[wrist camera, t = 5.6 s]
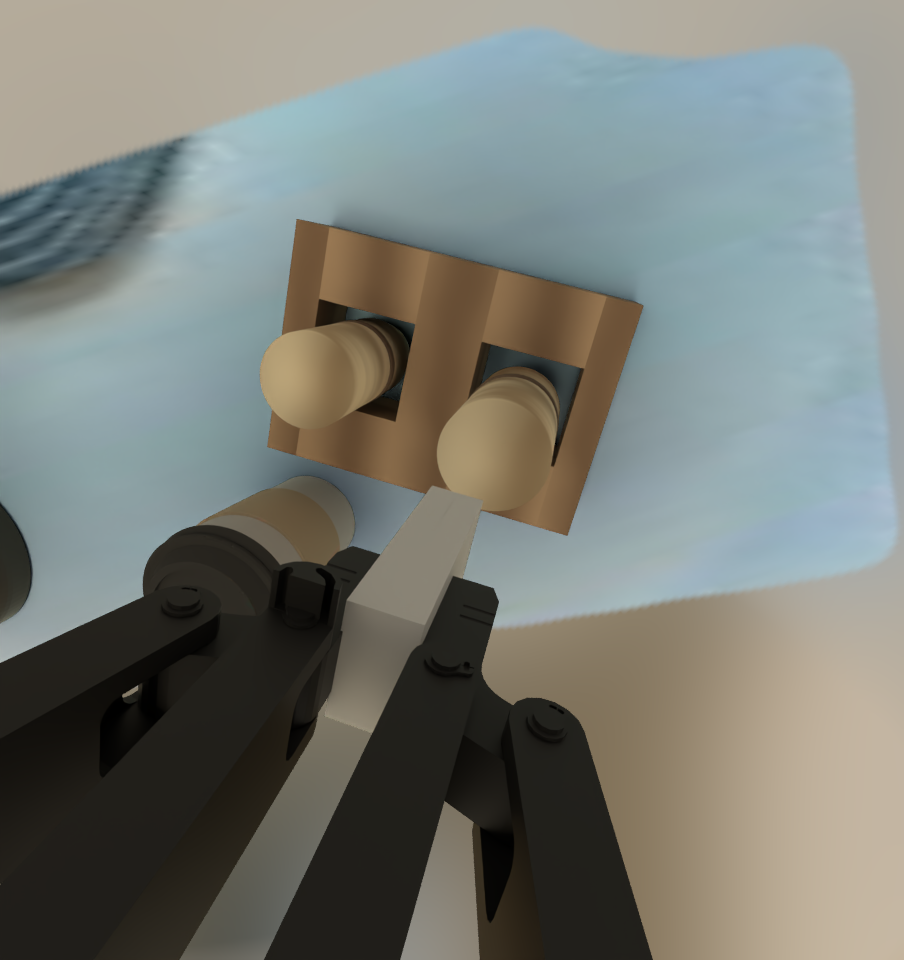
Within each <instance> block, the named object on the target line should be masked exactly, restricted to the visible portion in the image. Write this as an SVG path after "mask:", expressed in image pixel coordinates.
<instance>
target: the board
mask: <svg viewBox="0 0 904 960" xmlns="http://www.w3.org/2000/svg"><path fill="white" fill-rule="evenodd" d="M347 306H348V307H352V308H356V309H360V310H364V311H367V312H371V313H375V314H379V315H382V316H386V317H390V318H394V319H398V320H401V321H405V322H409V323H413V324H415V329H414V334H413V338H412V343H411V348H410V353H409V358H408V363H407V368H406V373H405V378H404V382H403V387H402V392H401V397H400V401H396V400H393V399H389V398H386V397H382V396H380V397H378V398H377V399H375V400H373V401H372V402H370V403H367V404H365V405H363V406H361V407H360V408H358V409H356V410H355V411H353V412H351V413H350V414H348V415H346V416H344V417H343V418H341V419H339V420H338V421H336V422H334V423H332V424H331V425H329V426H326V427H324V428H320V429H303V428H298V427H296V426H293V425H291V424H289V423H287V422H286V421H284V420H283V419H281V418H280V417H279V416H278V415H277V414H276V413H275V412H274V411H273V410H272V415H271V423H270V431H269V438H268V446H267V447H269V448H272V449H276V450H279V451H283V452H286V453H289V454H293V455H296V456H299V457H303V458H306V459H310V460H313V461H316V462H320V463H323V464H327V465H330V466H333V467H337V468H340V469H343V470H347V471H350V472H354V473H357V474H360V475H364V476H367V477H370V478H374V479H377V480H381V481H384V482H387V483H391V484H394V485H397V486H401V487H404V488H408V489H411V490H414V491H418V492H421V493H425V494H426V493H427V492H428V491H429V489H430V488H431V487H432V486H435V487H439V488H442V489H446V490H449V491H451V490H450V489H449V488H448V486H447V485H446V483H445V482H444V480H443V478H442V476H441V473H440V470H439V466H438V462H437V446H438V441H439V438H440V434H441V432H442V430H443V428H444V426H445V425H446V423H447V422H448V421H449V420H450V418H451V417H452V416H453V415H454V414H455V413H456V412H457V411H458V410H459V409H460V408H461V406H462V405H463V404H464V403H465V402H466V401H467V400H468V399H469V398H470V396H471V395H472V393H473V392H474V391H475V390H476V389H477V388H478V387H479V386H480V385H481V382H482V378H483V374H484V370H485V366H486V362H487V358H488V354H489V350H490V346H491V344H492V345H496V346H500V347H504V348H507V349H511V350H515V351H519V352H522V353H526V354H530V355H534V356H538V357H541V358H545V359H549V360H553V361H557V362H560V363H564V364H568V365H572V366H575V367H579V368H581V370H580V373H579V376H578V380H577V383H576V386H575V389H574V393H573V396H572V399H571V402H570V406H569V409H568V412H567V415H566V419H565V422H564V425H563V429H562V432H561V435H560V438H559V442H558V445H554V450H553V456H552V462H551V468H550V472H549V475H548V478H547V480H546V482H545V484H544V486H543V487H542V489H541V490H540V491H539V492H538V493H537V494H536V496H535V497H533V498H532V499H531V500H530V501H528V502H527V503H525V504H523V505H521V506H519V507H517V508H514V509H510V510H505V511H487V510H482V509H481V510H482V511H485V512H489V513H492V514H496V515H499V516H502V517H506V518H509V519H512V520H516V521H519V522H523V523H526V524H529V525H533V526H536V527H539V528H543V529H546V530H550V531H553V532H556V533H560V534H563V535H566V536H567V535H568V532H569V529H570V526H571V523H572V520H573V517H574V514H575V511H576V508H577V505H578V502H579V499H580V496H581V493H582V490H583V487H584V484H585V481H586V478H587V475H588V472H589V469H590V466H591V463H592V460H593V457H594V454H595V451H596V448H597V445H598V442H599V439H600V436H601V433H602V430H603V427H604V424H605V421H606V418H607V415H608V412H609V408H610V405H611V402H612V399H613V396H614V393H615V390H616V387H617V384H618V381H619V378H620V375H621V372H622V369H623V366H624V363H625V360H626V357H627V354H628V351H629V348H630V345H631V342H632V339H633V336H634V333H635V330H636V327H637V324H638V321H639V318H640V315H641V312H642V309H643V305H641V304H639V303H637V302H633V301H629V300H625V299H621V298H617V297H613V296H609V295H605V294H601V293H597V292H593V291H589V290H585V289H581V288H577V287H573V286H569V285H565V284H561V283H557V282H553V281H549V280H545V279H541V278H537V277H533V276H529V275H525V274H521V273H517V272H513V271H509V270H505V269H501V268H497V267H493V266H489V265H485V264H481V263H477V262H473V261H469V260H465V259H461V258H457V257H453V256H449V255H445V254H441V253H437V252H433V251H429V250H425V249H421V248H417V247H413V246H409V245H405V244H401V243H397V242H393V241H389V240H385V239H381V238H377V237H373V236H369V235H365V234H361V233H357V232H353V231H349V230H345V229H341V228H337V227H333V226H329V225H324V224H319V223H314V222H309V221H304V220H299V219H297V221H296V229H295V237H294V245H293V252H292V260H291V268H290V276H289V283H288V291H287V299H286V307H285V314H284V322H283V330H282V335H284V334H286V333H289V332H293V331H299V330H304V329H309V328H314V327H320V326H325V325H330V324H334V323H337V322H341V321H345V318H346V311H347Z"/></svg>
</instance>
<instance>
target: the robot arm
mask: <svg viewBox="0 0 904 960" xmlns="http://www.w3.org/2000/svg"><path fill="white" fill-rule="evenodd" d="M482 504H483V500H480V499H476V498H473V497H469V496H466V495H463V494H459V493H456V492H452V491H449V490H446V489H442V488H439V487H435V486H432V487H431V488H430V489H429V491H428V492H427V493H426V495H425V496H424V497H423V499H422V500H421V501H420V503H419V504H418V505H417V507H416V508H415V509H414V511H413V512H412V513H411V515H410V516H409V517H408V519H407V520H406V521H405V523H404V524H403V525H402V527H401V528H400V529H399V531H398V532H397V533H396V535H395V536H394V537H393V539H392V540H391V541H390V543H389V544H388V545H387V547H386V548H385V549H384V551H383V552H382V553H381V555H380V554H377V553H374V552H370V551H367V550H364V549H361V548H358V547H354V546H352V547H349V548H347V549H344V550H342V551H339V552H337V553H336V554H335V555H334V556H333V557H332V558H331V559H330V560H329V561H328V563H327V565H325V566H324V565H322V564H318V563H313V562H308V561H294V562H290V563H285V564H282V565H280V566H278V567H277V568H275V569H273V576H272V583H271V591H270V598H269V605H268V607H267V608H266V609H265V611H264V612H263V613H262V614H261V615H257V616H251V615H237V614H228V613H221V607H222V605H221V602H220V599H219V597H218V596H217V595H215V594H214V593H213V592H212V591H210V590H207V589H204V588H202V587H198V586H191V585H179V586H170V587H166V588H163V589H160V590H157V591H155V592H153V593H150V594H148V595H146V596H144V597H142V598H140V599H137V600H135V601H133V602H131V603H129V604H127V605H125V606H122V607H120V608H118V609H116V610H114V611H112V612H109V613H107V614H105V615H103V616H101V617H99V618H96V619H94V620H92V621H90V622H88V623H86V624H84V625H81V626H79V627H77V628H75V629H73V630H71V631H68V632H66V633H64V634H62V635H60V636H58V637H55V638H53V639H51V640H49V641H47V642H45V643H42V644H40V645H38V646H36V647H34V648H32V649H30V650H27V651H25V652H23V653H21V654H19V655H17V656H14V657H12V658H10V659H8V660H6V661H4V662H1V663H0V960H179V959H180V958H181V956H182V954H183V953H184V951H185V949H186V948H187V946H188V944H189V943H190V941H191V939H192V938H193V936H194V934H195V933H196V930H197V929H198V927H199V926H200V924H201V922H202V921H203V919H204V917H205V916H206V914H207V912H208V911H209V909H210V907H211V906H212V904H213V902H214V901H215V899H216V897H217V896H218V894H219V892H220V891H221V889H222V887H223V885H224V884H225V882H226V880H227V879H228V877H229V875H230V874H231V872H232V870H233V869H234V867H235V865H236V864H237V862H238V860H239V859H240V857H241V855H242V854H243V852H244V850H245V849H246V847H247V845H248V844H249V842H250V840H251V839H252V837H253V835H254V834H255V832H256V830H257V828H258V827H259V825H260V823H261V822H262V820H263V818H264V817H265V815H266V813H267V811H268V810H269V808H270V806H271V805H272V803H273V802H274V800H275V798H276V797H277V795H278V793H279V791H280V790H281V788H282V787H283V785H284V783H285V782H286V780H287V778H288V776H289V775H290V773H291V771H292V770H293V768H294V766H295V765H296V763H297V761H298V759H299V758H300V756H301V755H302V753H303V751H304V750H305V748H306V746H307V745H308V743H309V741H310V740H311V738H312V736H313V734H314V730H315V727H316V722H317V717H318V712H319V711H320V709H321V707H322V706H323V704H324V702H325V701H326V699H327V698H328V699H327V705H326V710H325V715H324V716H325V717H327V718H330V719H333V720H336V721H339V722H342V723H345V724H347V725H350V726H353V727H356V728H359V729H362V730H364V731H368V732H370V733H372V735H371V737H370V739H369V741H368V743H367V745H366V747H365V749H364V752H363V754H362V756H361V758H360V760H359V762H358V764H357V766H356V768H355V770H354V772H353V775H352V777H351V779H350V781H349V783H348V785H347V787H346V789H345V791H344V793H343V796H342V798H341V800H340V802H339V804H338V806H337V808H336V810H335V812H334V815H333V816H332V819H331V821H330V823H329V825H328V827H327V829H326V831H325V833H324V835H323V837H322V840H321V842H320V844H319V846H318V848H317V850H316V852H315V854H314V856H313V858H312V861H311V863H310V865H309V867H308V869H307V871H306V873H305V875H304V877H303V879H302V881H301V884H300V885H299V888H298V890H297V892H296V894H295V896H294V898H293V900H292V902H291V904H290V906H289V908H288V911H287V913H286V915H285V917H284V919H283V921H282V923H281V925H280V927H279V930H278V931H277V934H276V936H275V938H274V940H273V942H272V944H271V946H270V948H269V950H268V953H267V954H266V957H265V959H264V960H400V958H401V955H402V951H403V948H404V944H405V940H406V937H407V933H408V930H409V926H410V923H411V919H412V915H413V912H414V908H415V905H416V901H417V897H418V894H419V890H420V887H421V883H422V879H423V876H424V872H425V868H426V865H427V861H428V857H429V854H430V851H431V847H432V844H433V840H434V836H435V832H436V829H437V826H438V822H439V818H440V815H441V811H442V808H443V804H444V801H445V802H447V803H448V804H450V805H451V806H452V807H454V808H455V809H456V810H458V811H459V812H461V813H462V814H463V815H465V816H466V817H468V818H469V819H470V820H472V821H473V822H474V824H473V829H472V836H473V853H474V867H475V868H474V869H475V886H476V903H477V920H478V937H479V953H480V960H653V959H652V955H651V952H650V949H649V945H648V942H647V939H646V936H645V932H644V929H643V925H642V922H641V919H640V915H639V912H638V909H637V905H636V902H635V899H634V895H633V892H632V889H631V886H630V882H629V879H628V875H627V872H626V869H625V865H624V862H623V859H622V855H621V852H620V849H619V845H618V842H617V839H616V836H615V832H614V829H613V825H612V822H611V819H610V816H609V812H608V809H607V805H606V802H605V799H604V795H603V792H602V789H601V785H600V782H599V779H598V775H597V772H596V769H595V765H594V762H593V759H592V755H591V752H590V749H589V745H588V742H587V739H586V735H585V732H584V730H583V728H582V726H581V724H580V722H579V720H578V719H577V718H575V716H574V715H573V714H571V713H570V712H569V711H568V710H567V709H565V708H564V707H562V706H560V705H558V704H557V703H555V702H552V701H549V700H545V699H542V698H526V699H523V700H520V701H517V702H516V703H515V704H514V705H511V704H510V703H508V702H506V701H505V700H503V699H502V698H501V697H499V696H498V695H496V694H495V693H494V692H493V691H492V690H491V689H490V688H489V687H488V685H487V684H486V682H485V680H484V679H483V675H482V672H481V668H482V662H483V658H484V655H485V651H486V647H487V643H488V640H489V637H490V633H491V629H492V626H493V622H494V618H495V615H496V611H497V607H498V604H499V601H498V598H497V596H496V593H495V591H494V588H491V587H488V586H484V585H481V584H478V583H475V582H472V581H468V580H465V579H463V575H464V571H465V567H466V564H467V560H468V556H469V552H470V549H471V545H472V541H473V537H474V534H475V530H476V526H477V523H478V519H479V515H480V511H481V508H482ZM30 580H31V573H30V563H29V558H28V554H27V551H26V548H25V545H24V542H23V540H22V538H21V536H20V533H19V532H18V530H17V528H16V526H15V525H14V523H13V521H12V520H11V519H10V517H9V516H8V514H7V513H6V512H5V510H4V509H3V508H2V507H1V506H0V623H2V622H4V621H6V620H7V619H9V618H10V617H12V616H13V615H15V614H16V613H17V612H18V611H19V610H20V608H21V607H22V606H23V604H24V602H25V600H26V598H27V596H28V592H29V588H30ZM136 686H138V691H136V692H135V693H133V694H132V695H130V696H127V697H124V698H123V697H122V695H123V694H124V693H126V692H128V691H129V690H131V689H133V688H134V687H136Z"/></svg>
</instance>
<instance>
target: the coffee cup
mask: <svg viewBox="0 0 904 960" xmlns="http://www.w3.org/2000/svg"><path fill="white" fill-rule="evenodd" d="M354 531H355V519H354V514H353V511H352V508H351V506H350V504H349V502H348V500H347V499H346V497H345V496H344V495H343V494H342V493H341V492H340V491H339V490H338V489H337V488H336V487H335V486H334V485H332V484H331V483H329V482H327V481H325V480H323V479H320V478H317V477H313V476H298V477H294V478H291V479H289V480H287V481H285V482H283V483H281V484H279V485H277V486H275V487H273V488H271V489H266V490H263V491H260V492H258V493H256V494H254V495H252V496H250V497H248V498H246V499H244V500H242V501H240V502H238V503H236V504H234V505H232V506H230V507H228V508H226V509H224V510H222V511H220V512H218V513H216V514H214V515H212V516H210V517H208V518H206V519H204V520H203V521H201V522H200V523H199V524H198V525H196V526H193V527H189V528H186V529H183V530H181V531H179V532H177V533H176V534H174V535H172V536H171V537H170V538H169V539H168V540H167V541H166V542H165V543H163V544H162V545H160V546H159V547H158V548H157V549H156V550H155V551H154V552H153V554H152V555H151V556H150V558H149V560H148V562H147V564H146V567H145V570H144V575H143V594H144V596H146V595H148V594H150V593H153V592H155V591H157V590H160V589H163V588H166V587H170V586H179V585H191V586H198V587H202V588H204V589H207V590H210V591H212V592H213V593H214V594H215V595H217V596H218V597H219V599H220V602H221V605H222V607H221V613H228V614H237V615H251V616H257V615H261V614H262V613H263V612H264V611H265V609H266V608H267V607H268V605H269V598H270V591H271V583H272V576H273V569H275V568H277V567H278V566H280V565H282V564H285V563H290V562H294V561H308V562H313V563H318V564H322V565H324V566H325V565H327V563H328V561H329V560H330V559H331V558H332V557H333V556H334V555H335V554H336V553H337V552H339V551H342V550H344V549H347V547H348V546H349V544H350V543H351V541H352V538H353V535H354Z"/></svg>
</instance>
